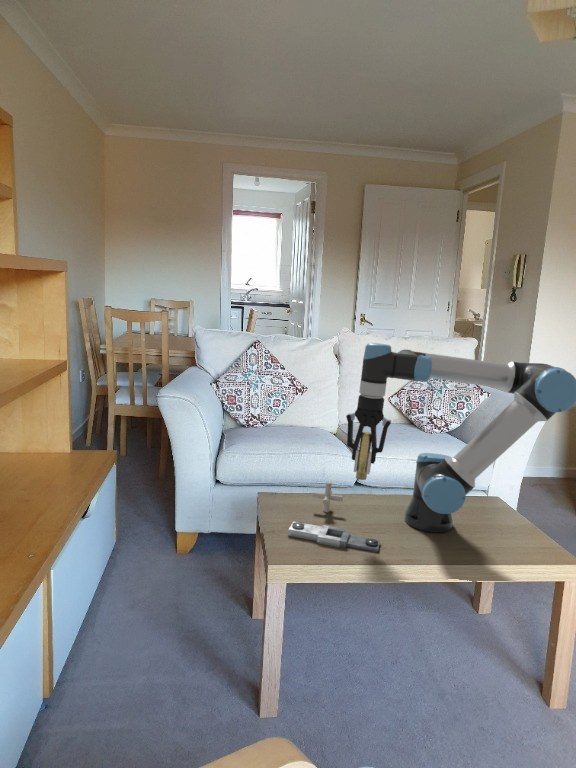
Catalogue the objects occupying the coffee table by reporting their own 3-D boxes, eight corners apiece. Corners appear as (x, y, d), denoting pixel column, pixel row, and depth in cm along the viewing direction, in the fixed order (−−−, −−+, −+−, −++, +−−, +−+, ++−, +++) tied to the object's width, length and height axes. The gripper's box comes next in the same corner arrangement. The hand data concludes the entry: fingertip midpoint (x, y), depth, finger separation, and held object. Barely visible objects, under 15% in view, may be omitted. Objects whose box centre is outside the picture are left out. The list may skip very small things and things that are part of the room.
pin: (367, 477, 161) (372, 433, 159) (365, 480, 158) (371, 435, 156) (356, 475, 162) (362, 431, 159) (355, 478, 159) (360, 433, 156)
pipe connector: (339, 519, 170) (342, 489, 169) (309, 514, 172) (311, 485, 171) (342, 507, 180) (345, 479, 178) (313, 503, 182) (316, 475, 180)
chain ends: (380, 541, 156) (381, 533, 156) (377, 554, 148) (378, 545, 148) (293, 526, 163) (294, 518, 162) (286, 537, 155) (287, 528, 154)
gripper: (400, 398, 157) (390, 473, 161) (346, 390, 161) (337, 463, 165) (398, 402, 150) (387, 480, 154) (342, 393, 154) (333, 470, 158)
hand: (361, 471), depth 159 cm, fingers closed on pin, 3 cm apart
